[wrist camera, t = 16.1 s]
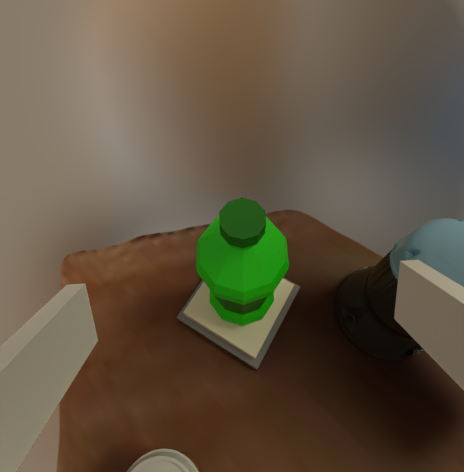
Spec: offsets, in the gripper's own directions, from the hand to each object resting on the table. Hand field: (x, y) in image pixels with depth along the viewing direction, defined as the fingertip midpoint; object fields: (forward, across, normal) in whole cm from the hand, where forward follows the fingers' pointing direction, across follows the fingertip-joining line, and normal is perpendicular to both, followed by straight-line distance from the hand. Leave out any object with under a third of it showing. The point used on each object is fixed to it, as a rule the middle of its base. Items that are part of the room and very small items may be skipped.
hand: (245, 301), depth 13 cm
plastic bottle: (+33, +1, -18) cm, 37 cm away
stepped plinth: (+36, +1, -20) cm, 41 cm away
